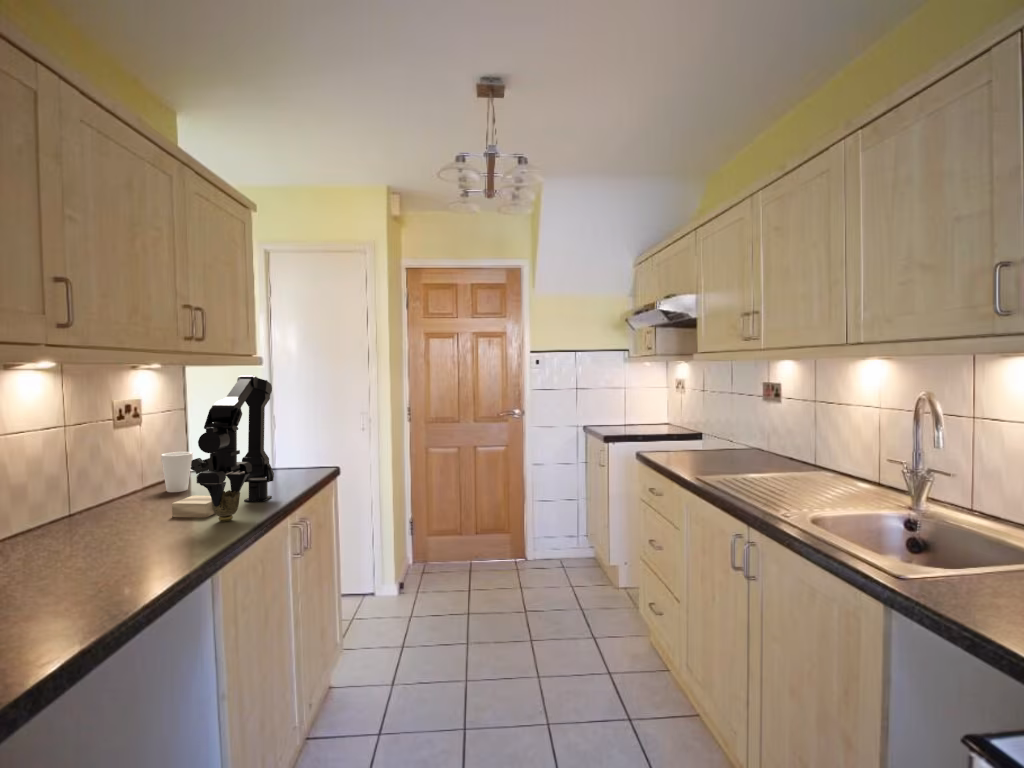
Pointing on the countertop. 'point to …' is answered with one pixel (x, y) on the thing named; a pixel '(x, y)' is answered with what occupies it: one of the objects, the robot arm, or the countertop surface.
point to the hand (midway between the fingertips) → (225, 502)
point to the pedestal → (193, 507)
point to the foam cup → (176, 470)
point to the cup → (227, 506)
